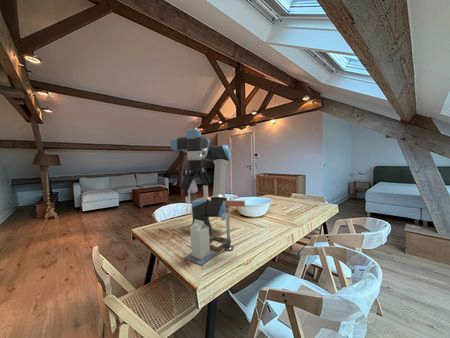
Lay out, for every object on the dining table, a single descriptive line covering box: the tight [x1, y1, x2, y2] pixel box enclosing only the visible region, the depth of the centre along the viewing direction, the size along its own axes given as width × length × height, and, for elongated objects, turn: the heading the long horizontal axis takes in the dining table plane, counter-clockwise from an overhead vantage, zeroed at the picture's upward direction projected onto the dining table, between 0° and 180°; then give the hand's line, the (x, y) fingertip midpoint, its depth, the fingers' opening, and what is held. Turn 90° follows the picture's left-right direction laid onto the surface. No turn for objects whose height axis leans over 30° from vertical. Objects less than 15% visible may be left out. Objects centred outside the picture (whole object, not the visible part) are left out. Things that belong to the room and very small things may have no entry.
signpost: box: [220, 199, 246, 248], centre depth 100 cm, size 12×12×27 cm
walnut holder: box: [209, 234, 232, 253], centre depth 111 cm, size 12×12×2 cm
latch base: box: [224, 245, 235, 252], centre depth 106 cm, size 5×5×1 cm
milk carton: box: [189, 219, 211, 259], centre depth 99 cm, size 7×7×19 cm
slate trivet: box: [183, 250, 219, 266], centre depth 100 cm, size 13×13×1 cm
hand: (197, 199), depth 98 cm, fingers open, 13 cm apart
